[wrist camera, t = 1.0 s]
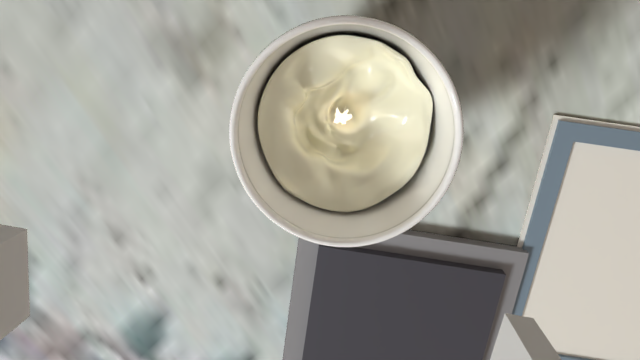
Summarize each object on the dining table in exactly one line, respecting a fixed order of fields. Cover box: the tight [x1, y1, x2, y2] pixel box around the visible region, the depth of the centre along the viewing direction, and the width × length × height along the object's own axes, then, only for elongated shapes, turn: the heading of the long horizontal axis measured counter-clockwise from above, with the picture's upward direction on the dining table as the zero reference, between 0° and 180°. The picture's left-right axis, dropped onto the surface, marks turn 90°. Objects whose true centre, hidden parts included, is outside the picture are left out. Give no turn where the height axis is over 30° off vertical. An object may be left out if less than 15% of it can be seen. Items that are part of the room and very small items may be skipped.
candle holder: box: [229, 15, 464, 247], centre depth 24 cm, size 10×10×12 cm
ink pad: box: [283, 230, 529, 360], centre depth 33 cm, size 16×16×2 cm
